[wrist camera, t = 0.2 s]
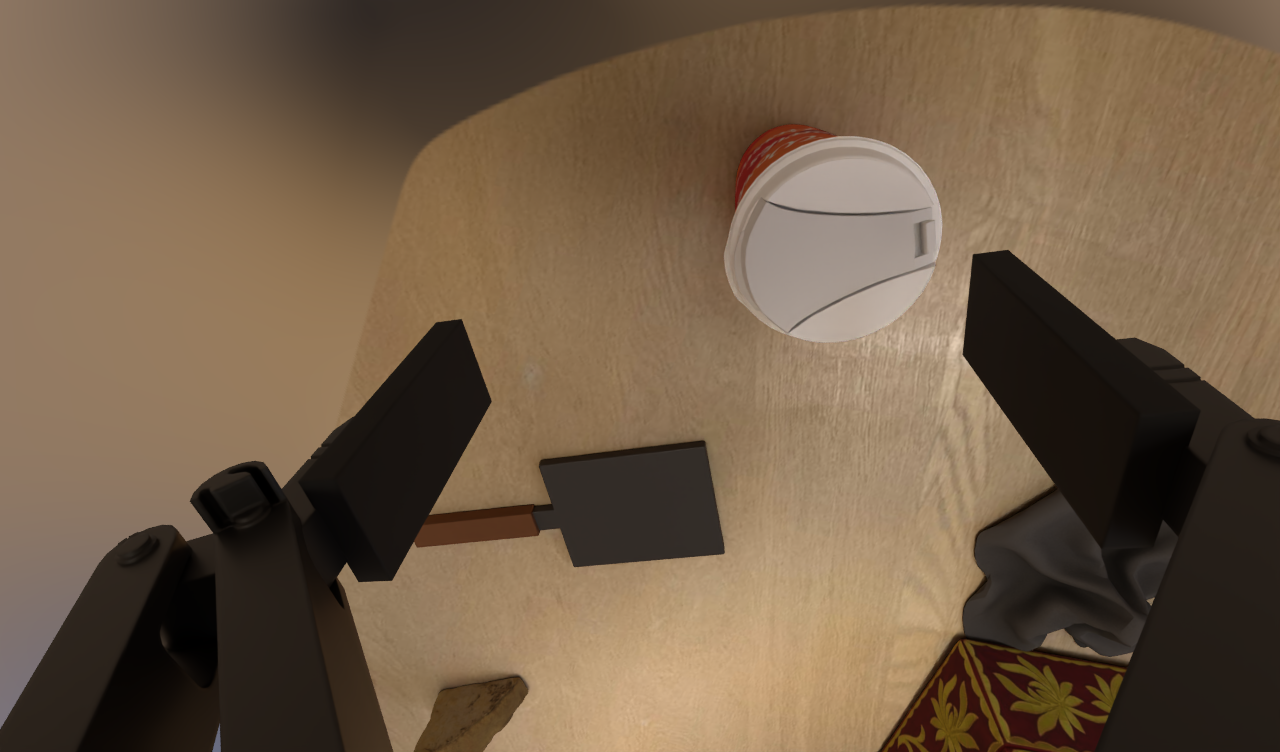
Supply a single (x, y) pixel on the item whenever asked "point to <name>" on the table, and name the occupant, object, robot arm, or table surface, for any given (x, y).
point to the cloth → (1062, 582)
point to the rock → (471, 716)
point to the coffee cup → (830, 233)
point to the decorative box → (1009, 703)
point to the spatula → (607, 508)
